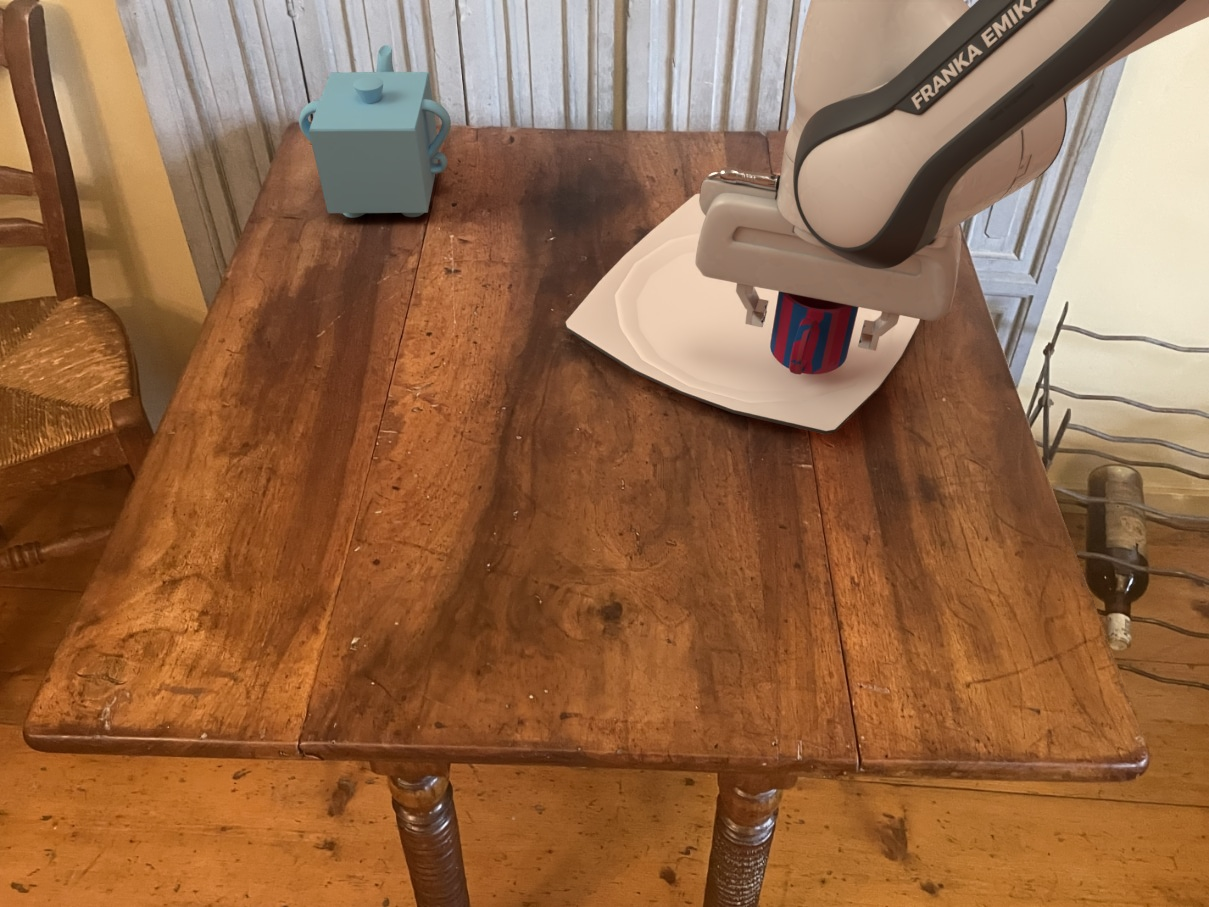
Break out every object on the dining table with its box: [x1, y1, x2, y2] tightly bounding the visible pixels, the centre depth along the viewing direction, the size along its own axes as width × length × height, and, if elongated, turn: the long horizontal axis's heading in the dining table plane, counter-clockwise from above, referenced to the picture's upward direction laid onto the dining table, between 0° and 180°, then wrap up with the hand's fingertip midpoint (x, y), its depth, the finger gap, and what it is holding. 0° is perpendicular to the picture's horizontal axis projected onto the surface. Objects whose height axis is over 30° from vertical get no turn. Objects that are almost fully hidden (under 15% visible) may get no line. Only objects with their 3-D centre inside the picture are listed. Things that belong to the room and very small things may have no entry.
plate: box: [564, 193, 921, 435], centre depth 92 cm, size 29×29×3 cm
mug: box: [770, 291, 859, 374], centre depth 83 cm, size 7×10×7 cm
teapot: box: [298, 44, 452, 219], centre depth 106 cm, size 18×16×13 cm
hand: (810, 333), depth 82 cm, fingers open, 8 cm apart
